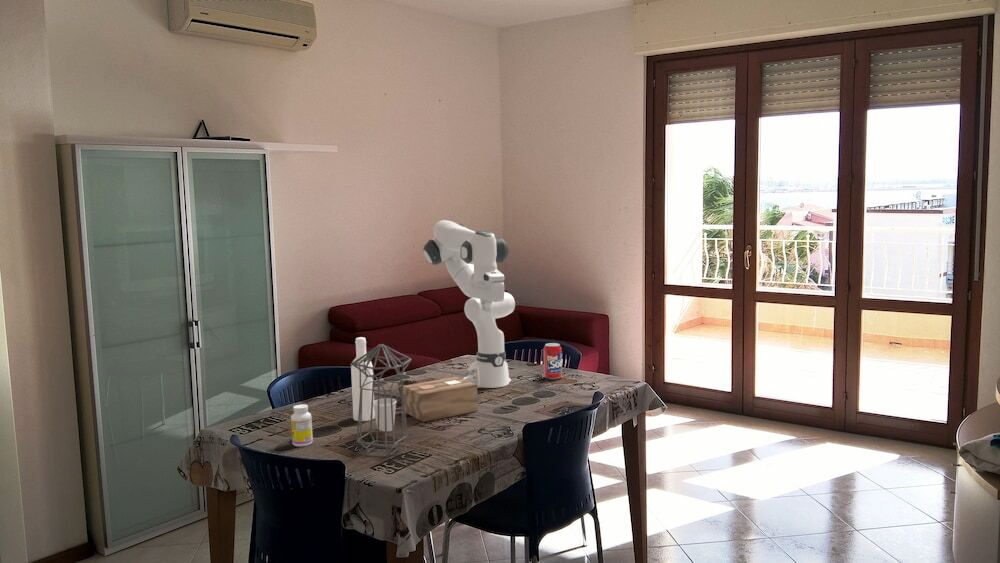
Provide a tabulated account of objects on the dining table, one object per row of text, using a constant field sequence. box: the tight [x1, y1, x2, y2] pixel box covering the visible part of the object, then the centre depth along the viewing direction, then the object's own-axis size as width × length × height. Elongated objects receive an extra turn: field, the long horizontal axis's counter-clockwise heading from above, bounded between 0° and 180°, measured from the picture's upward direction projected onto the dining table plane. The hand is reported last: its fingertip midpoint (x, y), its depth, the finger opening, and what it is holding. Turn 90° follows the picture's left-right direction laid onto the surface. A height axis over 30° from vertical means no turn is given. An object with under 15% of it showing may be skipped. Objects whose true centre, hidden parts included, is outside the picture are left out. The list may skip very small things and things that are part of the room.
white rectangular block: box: [444, 380, 462, 386], centre depth 293 cm, size 5×5×9 cm
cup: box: [397, 379, 418, 397], centre depth 305 cm, size 8×7×8 cm
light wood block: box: [403, 376, 479, 423], centre depth 290 cm, size 16×23×10 cm
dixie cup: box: [373, 397, 398, 432], centre depth 270 cm, size 8×8×10 cm
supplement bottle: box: [290, 403, 314, 448], centre depth 256 cm, size 7×7×13 cm
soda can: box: [543, 342, 563, 381], centre depth 337 cm, size 8×8×15 cm
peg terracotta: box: [418, 385, 436, 390], centre depth 287 cm, size 5×5×9 cm
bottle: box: [350, 336, 376, 422], centre depth 282 cm, size 8×8×30 cm
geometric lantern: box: [349, 343, 412, 458], centre depth 244 cm, size 16×16×35 cm
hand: (486, 311), depth 289 cm, fingers closed
